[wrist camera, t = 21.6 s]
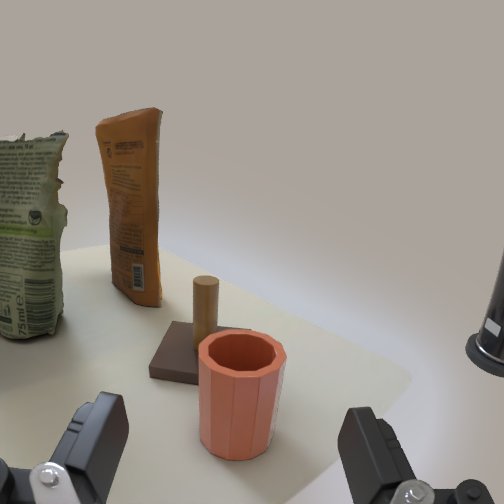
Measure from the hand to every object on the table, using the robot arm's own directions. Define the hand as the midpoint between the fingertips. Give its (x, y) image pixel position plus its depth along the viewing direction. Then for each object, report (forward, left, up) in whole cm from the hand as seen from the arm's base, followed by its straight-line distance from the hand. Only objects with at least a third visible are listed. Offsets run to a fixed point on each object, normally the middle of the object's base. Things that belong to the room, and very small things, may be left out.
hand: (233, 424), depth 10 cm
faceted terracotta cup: (+4, -10, -13) cm, 17 cm away
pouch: (+35, -11, -13) cm, 39 cm away
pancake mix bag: (+31, -29, -13) cm, 45 cm away
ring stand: (+12, -19, -13) cm, 26 cm away
